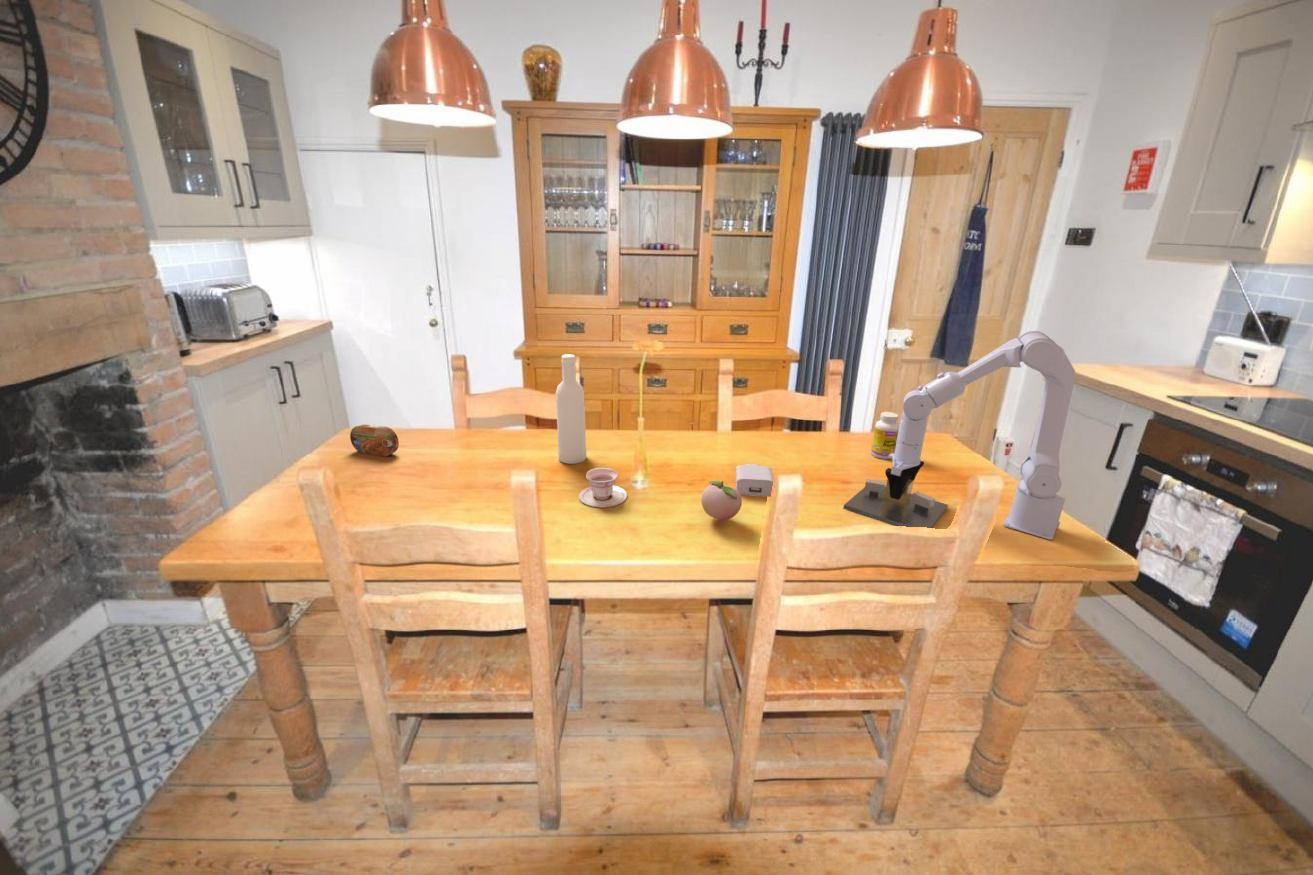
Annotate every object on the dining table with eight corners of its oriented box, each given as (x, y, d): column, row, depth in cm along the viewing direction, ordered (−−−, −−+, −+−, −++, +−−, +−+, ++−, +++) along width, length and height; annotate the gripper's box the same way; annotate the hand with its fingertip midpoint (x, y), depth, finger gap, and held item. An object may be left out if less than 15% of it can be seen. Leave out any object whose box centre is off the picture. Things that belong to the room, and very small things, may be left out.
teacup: (574, 490, 144) (573, 468, 142) (619, 483, 148) (619, 462, 146) (585, 511, 134) (584, 488, 131) (633, 504, 137) (633, 481, 135)
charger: (768, 473, 156) (773, 497, 142) (734, 471, 157) (736, 495, 143) (769, 457, 154) (775, 480, 140) (735, 455, 155) (737, 478, 141)
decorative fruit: (691, 519, 130) (693, 480, 127) (714, 508, 136) (717, 470, 132) (723, 535, 124) (726, 494, 121) (746, 522, 130) (749, 482, 126)
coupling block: (910, 498, 140) (913, 480, 138) (904, 504, 137) (908, 485, 135) (889, 492, 143) (892, 474, 141) (883, 498, 140) (887, 479, 138)
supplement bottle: (879, 460, 164) (886, 418, 160) (865, 452, 170) (872, 411, 166) (899, 458, 166) (906, 417, 162) (885, 450, 172) (892, 410, 167)
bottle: (581, 465, 158) (578, 359, 148) (554, 463, 160) (549, 358, 149) (589, 454, 166) (586, 353, 155) (563, 452, 167) (558, 351, 156)
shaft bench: (947, 508, 137) (951, 492, 136) (926, 535, 125) (929, 518, 124) (869, 485, 149) (872, 470, 147) (843, 508, 137) (845, 492, 135)
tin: (351, 452, 165) (346, 424, 162) (360, 448, 168) (355, 421, 165) (395, 458, 161) (390, 430, 158) (402, 454, 164) (398, 427, 161)
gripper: (902, 429, 142) (894, 478, 146) (881, 445, 131) (873, 497, 136) (932, 436, 137) (922, 486, 142) (913, 453, 127) (903, 507, 132)
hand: (900, 492), depth 139 cm, fingers open, 7 cm apart
